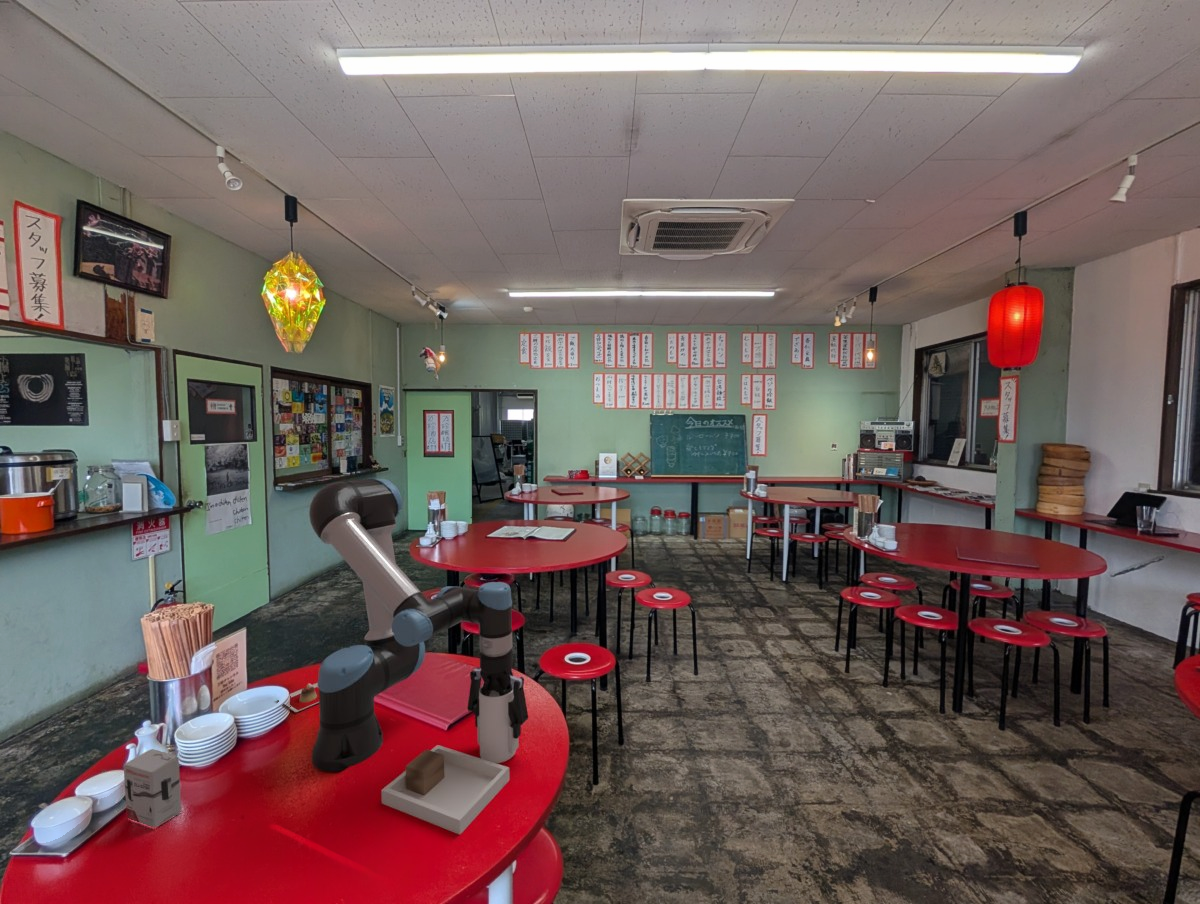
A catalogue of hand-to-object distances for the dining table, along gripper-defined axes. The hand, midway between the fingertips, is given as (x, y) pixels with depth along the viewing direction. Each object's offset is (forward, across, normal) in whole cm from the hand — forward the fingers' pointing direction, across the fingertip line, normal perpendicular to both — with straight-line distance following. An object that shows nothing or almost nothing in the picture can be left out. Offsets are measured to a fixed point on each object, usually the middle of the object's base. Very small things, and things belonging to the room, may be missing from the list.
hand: (497, 745), depth 117 cm
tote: (+2, -2, -15) cm, 15 cm away
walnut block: (+1, -8, -15) cm, 17 cm away
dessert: (+3, -66, 0) cm, 66 cm away
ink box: (+3, -52, -43) cm, 68 cm away
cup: (+2, 0, 0) cm, 2 cm away
